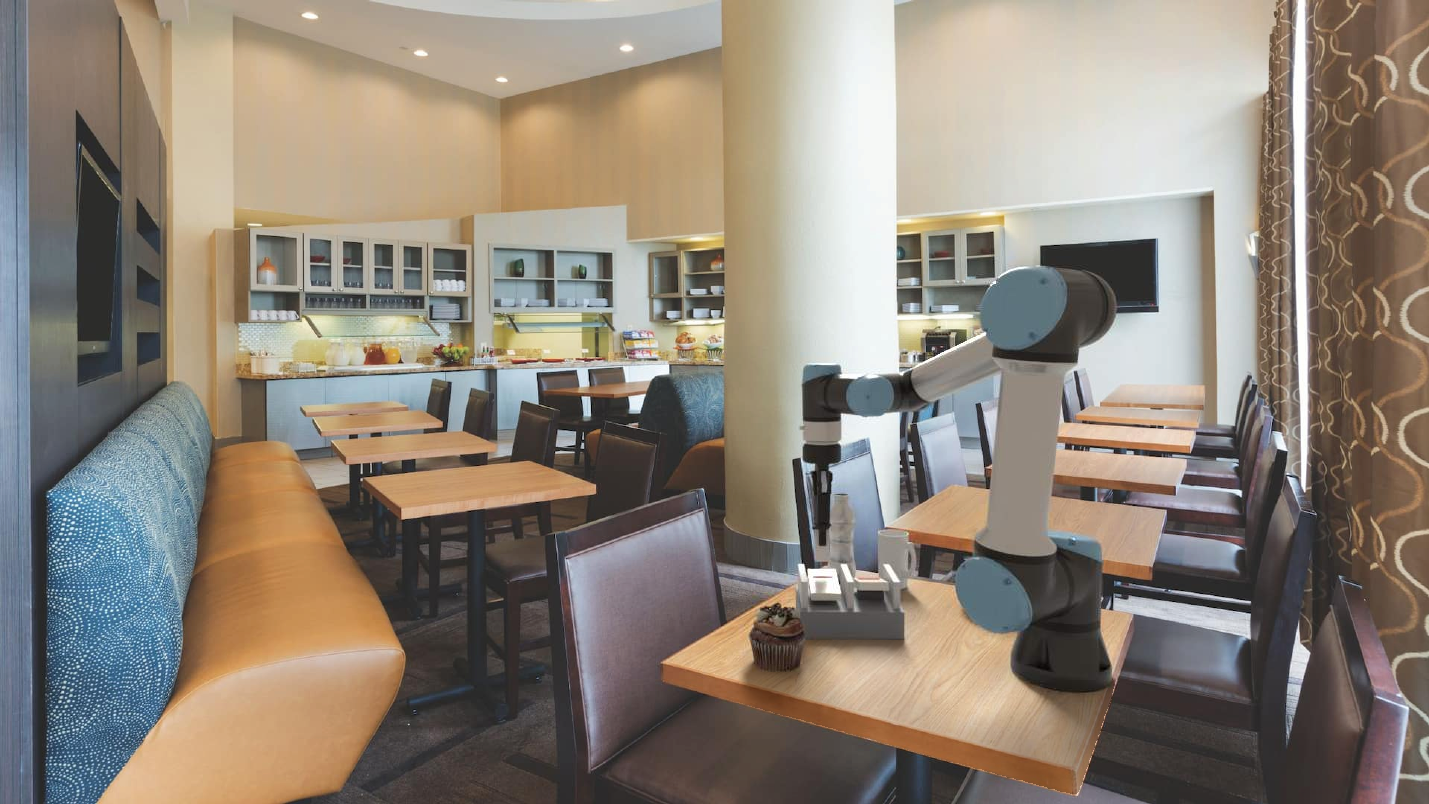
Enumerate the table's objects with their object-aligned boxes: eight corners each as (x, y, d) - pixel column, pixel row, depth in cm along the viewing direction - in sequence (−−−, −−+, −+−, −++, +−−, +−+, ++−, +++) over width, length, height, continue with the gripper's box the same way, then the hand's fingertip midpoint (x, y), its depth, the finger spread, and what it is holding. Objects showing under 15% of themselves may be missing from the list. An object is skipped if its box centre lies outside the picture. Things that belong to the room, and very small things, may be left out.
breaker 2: (889, 590, 144) (888, 581, 144) (859, 590, 145) (859, 581, 145) (880, 585, 154) (880, 577, 154) (852, 585, 154) (852, 577, 155)
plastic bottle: (835, 586, 174) (834, 498, 172) (822, 577, 180) (822, 492, 179) (861, 583, 175) (861, 496, 174) (847, 575, 182) (847, 491, 181)
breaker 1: (840, 600, 145) (840, 592, 144) (811, 600, 145) (811, 592, 145) (835, 576, 155) (835, 568, 154) (807, 576, 155) (807, 568, 154)
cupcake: (815, 658, 133) (814, 601, 133) (789, 678, 125) (788, 618, 125) (766, 647, 139) (765, 592, 138) (738, 666, 130) (737, 608, 130)
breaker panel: (904, 639, 142) (904, 585, 141) (800, 638, 143) (799, 585, 142) (889, 609, 157) (889, 561, 157) (795, 609, 159) (795, 561, 158)
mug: (871, 584, 175) (871, 532, 174) (892, 579, 178) (892, 528, 177) (904, 596, 166) (904, 541, 165) (926, 590, 170) (926, 536, 169)
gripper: (800, 438, 158) (800, 551, 160) (804, 446, 145) (804, 569, 147) (837, 438, 158) (837, 552, 159) (844, 446, 145) (844, 570, 146)
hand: (821, 560), depth 153 cm, fingers closed
